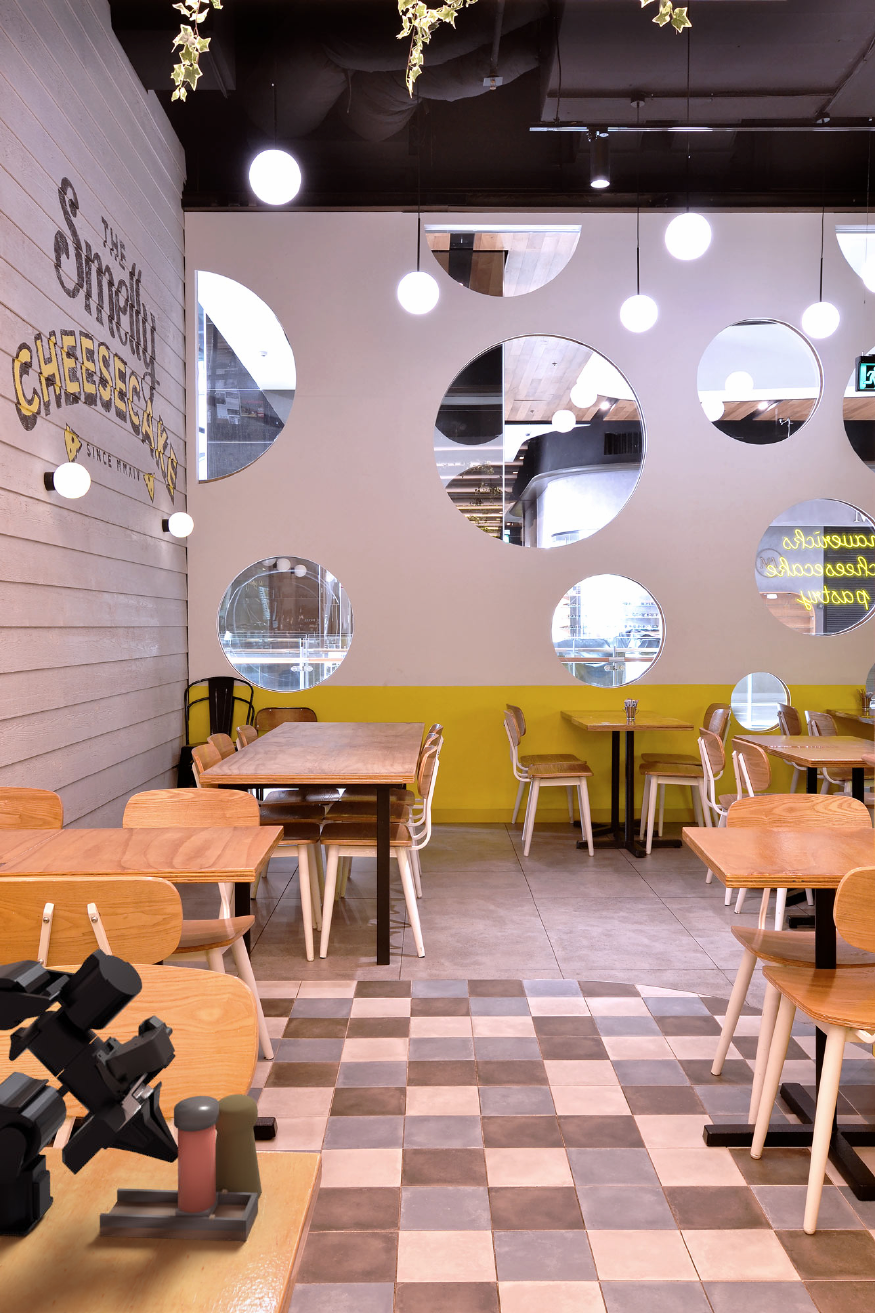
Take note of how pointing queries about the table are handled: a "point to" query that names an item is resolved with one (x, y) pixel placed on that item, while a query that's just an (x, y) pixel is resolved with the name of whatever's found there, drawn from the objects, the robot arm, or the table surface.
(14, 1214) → the robot arm
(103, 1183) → the table surface
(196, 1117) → the plug
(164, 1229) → the track
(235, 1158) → the olive rounded upright piece
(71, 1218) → the table surface
